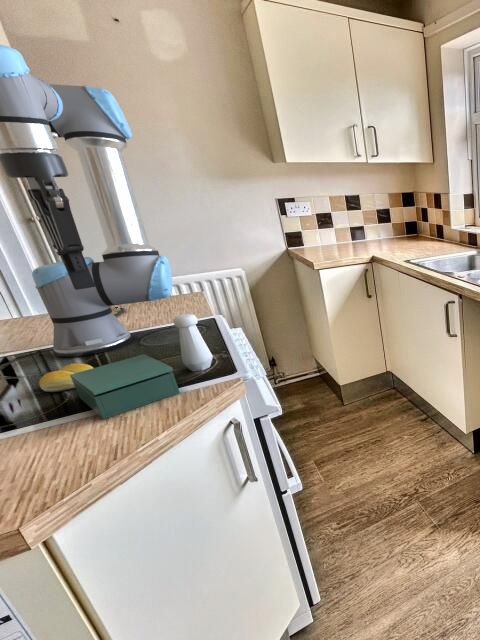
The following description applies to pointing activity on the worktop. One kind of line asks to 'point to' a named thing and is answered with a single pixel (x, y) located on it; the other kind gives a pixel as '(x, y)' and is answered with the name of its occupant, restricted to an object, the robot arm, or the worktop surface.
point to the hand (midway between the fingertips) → (85, 287)
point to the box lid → (120, 374)
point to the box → (129, 395)
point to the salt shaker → (192, 343)
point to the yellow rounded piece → (62, 378)
